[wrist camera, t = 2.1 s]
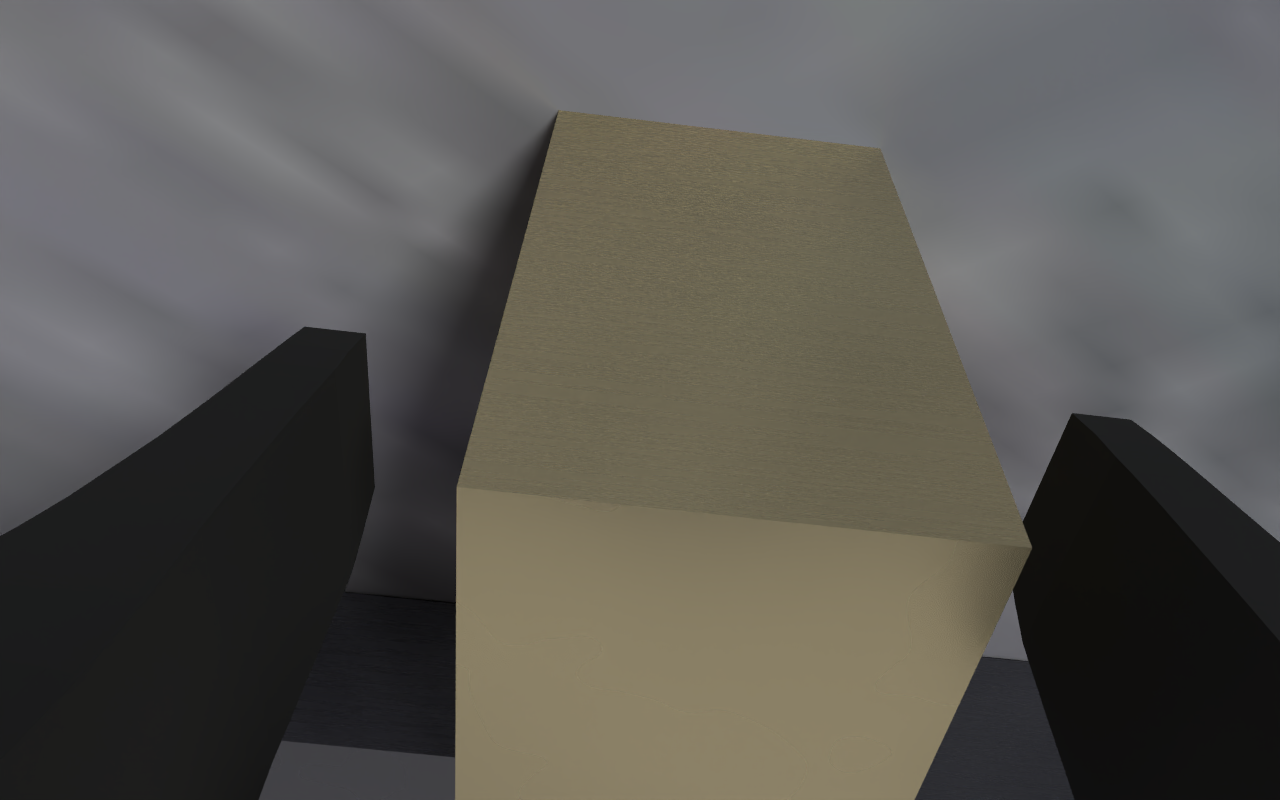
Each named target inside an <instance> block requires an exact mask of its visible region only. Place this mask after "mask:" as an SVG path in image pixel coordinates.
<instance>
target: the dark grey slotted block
mask: <svg viewBox="0 0 1280 800" xmlns="http://www.w3.org/2000/svg"><path fill="white" fill-rule="evenodd" d="M455 733H456V604H452V603H442V602H432V601H423V600H413V599H403V598H393V597H383V596H373V595H363V594H353V593H343V595H342V597H341V600H340V602H339V605H338V607H337V610H336V612H335V614H334V617H333V619H332V622H331V624H330V627H329V629H328V631H327V634H326V636H325V639H324V641H323V643H322V646H321V648H320V651H319V653H318V655H317V658H316V660H315V662H314V665H313V667H312V669H311V672H310V674H309V677H308V679H307V681H306V684H305V686H304V688H303V691H302V693H301V696H300V698H299V700H298V703H297V705H296V708H295V710H294V712H293V715H292V717H291V719H290V722H289V724H288V727H287V729H286V731H285V734H284V736H283V738H282V741H281V743H280V746H279V748H278V750H277V753H276V755H275V757H274V760H273V762H272V765H271V768H270V770H269V773H268V776H267V778H266V781H265V784H264V787H263V789H262V792H261V795H260V797H259V800H455ZM915 800H1074V797H1073V794H1072V791H1071V788H1070V785H1069V782H1068V779H1067V776H1066V773H1065V770H1064V767H1063V764H1062V761H1061V758H1060V755H1059V752H1058V749H1057V746H1056V743H1055V740H1054V737H1053V734H1052V731H1051V728H1050V725H1049V722H1048V719H1047V716H1046V713H1045V710H1044V707H1043V704H1042V701H1041V698H1040V695H1039V692H1038V689H1037V686H1036V683H1035V680H1034V677H1033V673H1032V670H1031V667H1030V664H1029V662H1025V661H1015V660H1006V659H996V658H986V657H981V659H980V661H979V663H978V665H977V667H976V669H975V672H974V674H973V676H972V678H971V680H970V682H969V684H968V687H967V689H966V691H965V693H964V695H963V697H962V699H961V702H960V704H959V706H958V708H957V710H956V712H955V714H954V717H953V719H952V721H951V723H950V725H949V727H948V729H947V731H946V734H945V736H944V738H943V740H942V742H941V744H940V746H939V749H938V751H937V753H936V755H935V757H934V759H933V761H932V764H931V766H930V768H929V770H928V772H927V774H926V776H925V779H924V781H923V783H922V785H921V787H920V789H919V791H918V793H917V796H916V798H915Z"/></svg>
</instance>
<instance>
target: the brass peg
mask: <svg viewBox="0 0 1280 800" xmlns="http://www.w3.org/2000/svg"><path fill="white" fill-rule="evenodd" d="M1031 550H1032V546H1031V543H1030V541H1029V538H1028V535H1027V533H1026V530H1025V528H1024V525H1023V522H1022V520H1021V517H1020V514H1019V512H1018V509H1017V507H1016V504H1015V501H1014V499H1013V496H1012V493H1011V491H1010V488H1009V486H1008V483H1007V480H1006V478H1005V475H1004V472H1003V470H1002V467H1001V465H1000V462H999V459H998V457H997V454H996V451H995V449H994V446H993V444H992V441H991V438H990V436H989V433H988V430H987V428H986V425H985V423H984V420H983V417H982V415H981V412H980V409H979V407H978V404H977V402H976V399H975V396H974V394H973V391H972V388H971V386H970V383H969V381H968V378H967V375H966V373H965V370H964V367H963V365H962V362H961V360H960V357H959V354H958V352H957V349H956V346H955V344H954V341H953V339H952V336H951V333H950V331H949V328H948V325H947V323H946V320H945V317H944V315H943V312H942V310H941V307H940V304H939V302H938V299H937V296H936V294H935V291H934V289H933V286H932V283H931V281H930V278H929V275H928V273H927V270H926V268H925V265H924V262H923V260H922V257H921V254H920V252H919V249H918V247H917V244H916V241H915V239H914V236H913V233H912V231H911V228H910V226H909V223H908V220H907V218H906V215H905V212H904V210H903V207H902V205H901V202H900V199H899V197H898V194H897V191H896V189H895V186H894V184H893V181H892V178H891V176H890V173H889V170H888V168H887V165H886V163H885V160H884V157H883V155H882V152H881V149H880V148H871V147H863V146H855V145H846V144H838V143H829V142H821V141H813V140H804V139H796V138H787V137H779V136H771V135H762V134H754V133H745V132H737V131H729V130H720V129H712V128H703V127H695V126H687V125H678V124H670V123H661V122H653V121H645V120H636V119H628V118H619V117H611V116H603V115H594V114H586V113H577V112H569V111H561V110H559V111H558V115H557V119H556V123H555V126H554V130H553V134H552V137H551V141H550V145H549V148H548V152H547V156H546V159H545V163H544V167H543V170H542V174H541V178H540V182H539V185H538V189H537V193H536V196H535V200H534V204H533V207H532V211H531V215H530V218H529V222H528V226H527V229H526V233H525V237H524V241H523V244H522V248H521V252H520V255H519V259H518V263H517V266H516V270H515V274H514V277H513V281H512V285H511V288H510V292H509V296H508V300H507V303H506V307H505V311H504V314H503V318H502V322H501V325H500V329H499V333H498V336H497V340H496V344H495V347H494V351H493V355H492V359H491V362H490V366H489V370H488V373H487V377H486V381H485V384H484V388H483V392H482V395H481V399H480V403H479V406H478V410H477V414H476V418H475V421H474V425H473V429H472V432H471V436H470V440H469V443H468V447H467V451H466V454H465V458H464V462H463V465H462V469H461V473H460V477H459V480H458V484H457V518H456V733H455V800H915V798H916V796H917V793H918V791H919V789H920V787H921V785H922V783H923V781H924V779H925V776H926V774H927V772H928V770H929V768H930V766H931V764H932V761H933V759H934V757H935V755H936V753H937V751H938V749H939V746H940V744H941V742H942V740H943V738H944V736H945V734H946V731H947V729H948V727H949V725H950V723H951V721H952V719H953V717H954V714H955V712H956V710H957V708H958V706H959V704H960V702H961V699H962V697H963V695H964V693H965V691H966V689H967V687H968V684H969V682H970V680H971V678H972V676H973V674H974V672H975V669H976V667H977V665H978V663H979V661H980V659H981V657H982V654H983V652H984V650H985V648H986V646H987V644H988V642H989V640H990V637H991V635H992V633H993V631H994V629H995V627H996V625H997V622H998V620H999V618H1000V616H1001V614H1002V612H1003V610H1004V607H1005V605H1006V603H1007V601H1008V599H1009V597H1010V595H1011V592H1012V590H1013V588H1014V586H1015V584H1016V582H1017V580H1018V578H1019V575H1020V573H1021V571H1022V569H1023V567H1024V565H1025V563H1026V560H1027V558H1028V556H1029V554H1030V552H1031Z"/></svg>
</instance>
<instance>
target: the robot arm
mask: <svg viewBox="0 0 1280 800" xmlns="http://www.w3.org/2000/svg"><path fill="white" fill-rule="evenodd" d="M374 488H375V484H374V467H373V450H372V433H371V416H370V400H369V383H368V366H367V349H366V334H365V333H356V332H347V331H338V330H329V329H320V328H311V327H304V328H302V329H301V330H300V331H298V332H297V333H295V334H294V335H293V336H291V337H290V338H289V339H287V340H286V341H285V342H283V343H282V344H281V345H279V346H278V347H277V348H276V349H274V350H273V351H272V352H270V353H269V354H268V355H266V356H265V357H264V358H262V359H261V360H260V361H258V362H257V363H256V364H255V365H253V366H252V367H251V368H249V369H248V370H247V371H245V372H244V373H243V374H242V375H240V376H239V377H238V378H236V379H235V380H234V381H232V382H231V383H230V384H228V385H227V386H226V387H225V388H223V389H222V390H221V391H219V392H218V393H217V394H215V395H214V396H213V397H211V398H210V399H209V400H208V401H206V402H205V403H203V404H202V405H201V406H199V407H198V408H197V409H195V410H194V411H193V412H191V413H190V414H188V415H187V416H186V417H184V418H183V419H182V420H180V421H179V422H178V423H176V424H175V425H173V426H172V427H171V428H169V429H168V430H167V431H165V432H164V433H163V434H161V435H160V436H158V437H157V438H156V439H154V440H153V441H151V442H150V443H148V444H147V445H145V446H144V447H142V448H141V449H139V450H138V451H136V452H135V453H133V454H132V455H130V456H129V457H127V458H126V459H124V460H123V461H121V462H120V463H118V464H117V465H115V466H114V467H112V468H110V469H109V470H107V471H106V472H104V473H103V474H101V475H100V476H98V477H97V478H95V479H94V480H92V481H91V482H89V483H88V484H86V485H85V486H83V487H82V488H80V489H79V490H77V491H76V492H74V493H73V494H71V495H70V496H68V497H66V498H65V499H63V500H62V501H60V502H58V503H57V504H55V505H53V506H52V507H50V508H49V509H47V510H45V511H43V512H42V513H40V514H38V515H37V516H35V517H33V518H32V519H30V520H28V521H26V522H25V523H23V524H21V525H20V526H18V527H16V528H14V529H13V530H11V531H9V532H7V533H5V534H3V535H2V536H0V800H259V797H260V795H261V792H262V789H263V787H264V784H265V781H266V778H267V776H268V773H269V770H270V768H271V765H272V762H273V760H274V757H275V755H276V753H277V750H278V748H279V746H280V743H281V741H282V738H283V736H284V734H285V731H286V729H287V727H288V724H289V722H290V719H291V717H292V715H293V712H294V710H295V708H296V705H297V703H298V700H299V698H300V696H301V693H302V691H303V688H304V686H305V684H306V681H307V679H308V677H309V674H310V672H311V669H312V667H313V665H314V662H315V660H316V658H317V655H318V653H319V651H320V648H321V646H322V643H323V641H324V639H325V636H326V634H327V631H328V629H329V627H330V624H331V622H332V619H333V617H334V614H335V612H336V610H337V607H338V605H339V602H340V600H341V597H342V595H343V593H344V590H345V588H346V585H347V583H348V580H349V578H350V575H351V573H352V570H353V566H354V562H355V559H356V555H357V552H358V548H359V545H360V541H361V538H362V534H363V530H364V527H365V523H366V519H367V515H368V511H369V507H370V504H371V500H372V496H373V492H374ZM1023 525H1024V528H1025V530H1026V533H1027V535H1028V538H1029V541H1030V543H1031V546H1032V550H1031V552H1030V554H1029V556H1028V558H1027V560H1026V563H1025V565H1024V567H1023V569H1022V571H1021V573H1020V575H1019V578H1018V580H1017V582H1016V584H1015V586H1014V588H1013V593H1014V599H1015V605H1016V610H1017V615H1018V620H1019V626H1020V631H1021V636H1022V641H1023V645H1024V648H1025V651H1026V654H1027V658H1028V661H1029V664H1030V667H1031V670H1032V673H1033V677H1034V680H1035V683H1036V686H1037V689H1038V692H1039V695H1040V698H1041V701H1042V704H1043V707H1044V710H1045V713H1046V716H1047V719H1048V722H1049V725H1050V728H1051V731H1052V734H1053V737H1054V740H1055V743H1056V746H1057V749H1058V752H1059V755H1060V758H1061V761H1062V764H1063V767H1064V770H1065V773H1066V776H1067V779H1068V782H1069V785H1070V788H1071V791H1072V794H1073V797H1074V800H1280V542H1279V541H1278V540H1276V539H1275V538H1274V537H1273V536H1272V535H1270V534H1269V533H1268V532H1267V531H1266V530H1264V529H1263V528H1262V527H1261V526H1260V525H1259V524H1257V523H1256V522H1255V521H1254V520H1253V519H1252V518H1250V517H1249V516H1248V515H1247V514H1246V513H1244V512H1243V511H1242V510H1241V509H1240V508H1239V507H1237V506H1236V505H1235V504H1234V503H1233V502H1232V501H1230V500H1229V499H1228V498H1227V497H1226V496H1225V495H1223V494H1222V493H1221V492H1220V491H1219V490H1218V489H1216V488H1215V487H1214V486H1213V485H1212V484H1211V483H1209V482H1208V481H1207V480H1206V479H1205V478H1203V477H1202V476H1201V475H1200V474H1199V473H1198V472H1196V471H1195V470H1194V469H1193V468H1192V467H1190V466H1189V465H1188V464H1187V463H1186V462H1184V461H1183V460H1182V459H1181V458H1180V457H1178V456H1177V455H1176V454H1175V453H1174V452H1172V451H1171V450H1170V449H1169V448H1167V447H1166V446H1165V445H1164V444H1162V443H1161V442H1160V441H1159V440H1157V439H1156V438H1155V437H1154V436H1152V435H1151V434H1150V433H1148V432H1147V431H1146V430H1144V429H1143V428H1141V427H1140V426H1139V425H1137V424H1136V423H1135V422H1133V421H1132V420H1128V419H1119V418H1110V417H1101V416H1093V415H1084V414H1075V413H1072V414H1071V417H1070V419H1069V421H1068V423H1067V425H1066V428H1065V430H1064V432H1063V434H1062V437H1061V439H1060V441H1059V443H1058V445H1057V448H1056V450H1055V452H1054V454H1053V456H1052V459H1051V461H1050V463H1049V465H1048V467H1047V470H1046V472H1045V474H1044V476H1043V478H1042V481H1041V483H1040V485H1039V487H1038V490H1037V492H1036V494H1035V496H1034V498H1033V501H1032V503H1031V505H1030V507H1029V509H1028V512H1027V514H1026V516H1025V518H1024V520H1023Z"/></svg>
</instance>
